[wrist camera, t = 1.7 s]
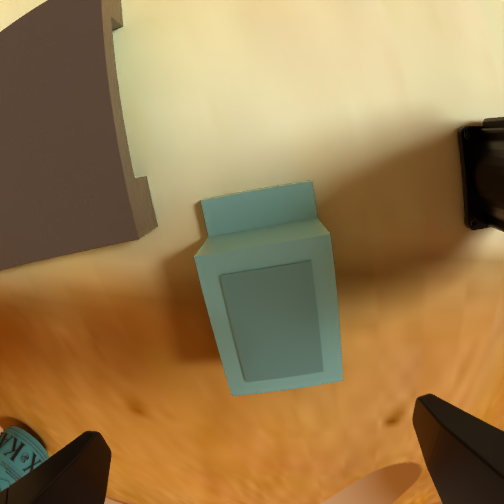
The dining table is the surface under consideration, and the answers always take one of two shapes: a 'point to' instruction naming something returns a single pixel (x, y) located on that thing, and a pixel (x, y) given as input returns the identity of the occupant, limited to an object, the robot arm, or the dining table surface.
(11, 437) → the beverage bottle
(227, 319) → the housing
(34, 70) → the stand
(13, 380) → the dining table surface
